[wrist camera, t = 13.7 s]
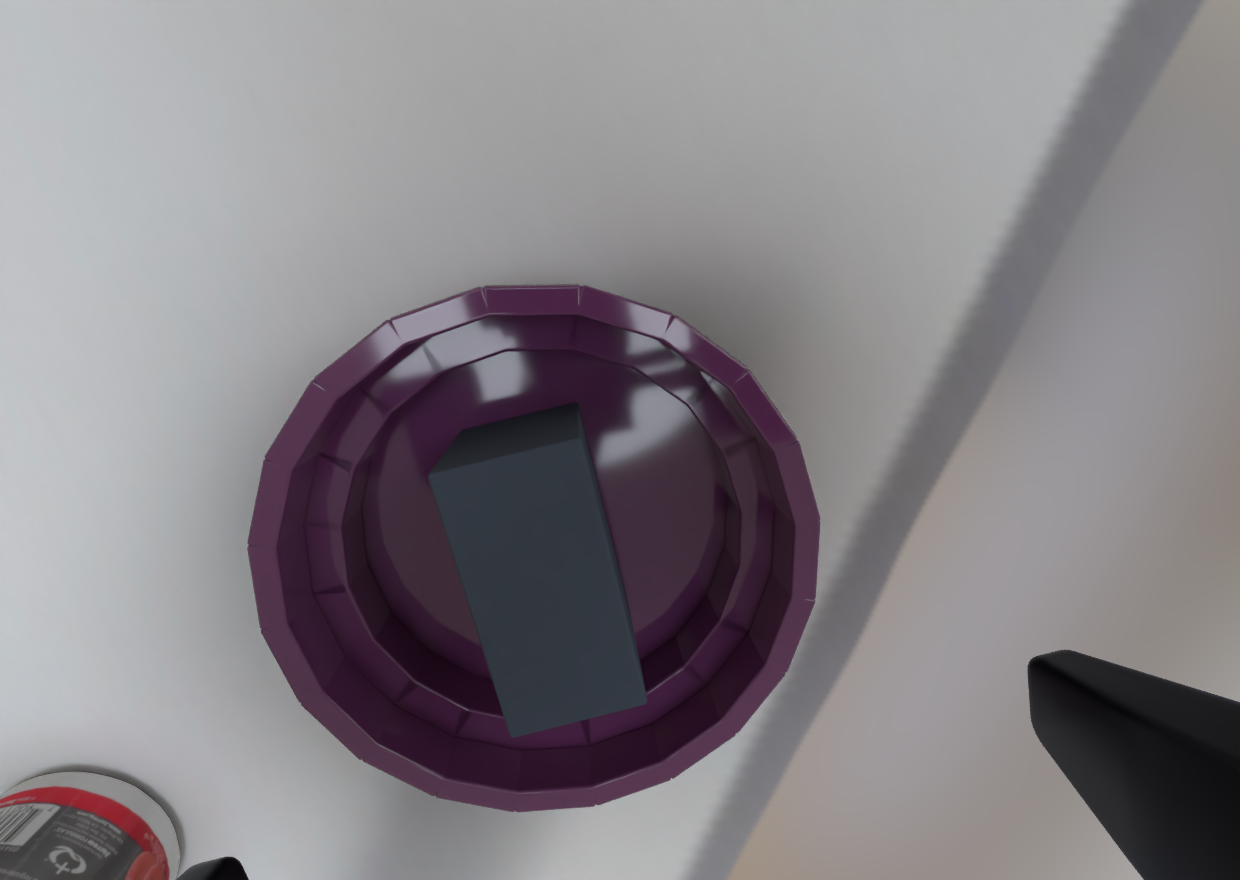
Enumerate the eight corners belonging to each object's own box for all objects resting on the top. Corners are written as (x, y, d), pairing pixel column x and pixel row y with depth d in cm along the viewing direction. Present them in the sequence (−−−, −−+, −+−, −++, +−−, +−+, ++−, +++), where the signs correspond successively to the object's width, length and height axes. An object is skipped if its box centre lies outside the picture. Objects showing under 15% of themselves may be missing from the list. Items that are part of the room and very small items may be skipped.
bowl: (370, 219, 15) (313, 199, 12) (835, 366, 17) (903, 385, 13) (274, 664, 18) (203, 754, 14) (689, 753, 19) (716, 851, 16)
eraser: (460, 429, 16) (426, 475, 12) (577, 401, 16) (581, 437, 12) (522, 639, 17) (510, 740, 13) (630, 612, 17) (648, 705, 13)
